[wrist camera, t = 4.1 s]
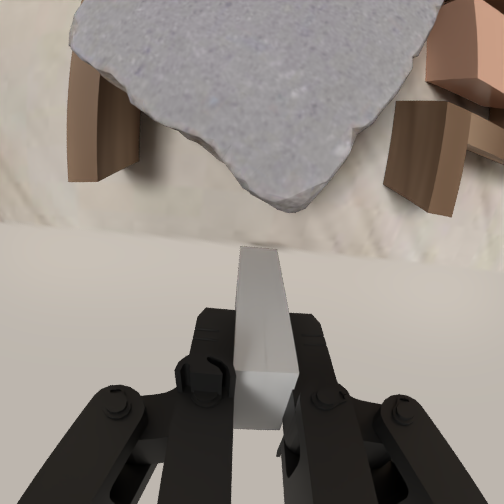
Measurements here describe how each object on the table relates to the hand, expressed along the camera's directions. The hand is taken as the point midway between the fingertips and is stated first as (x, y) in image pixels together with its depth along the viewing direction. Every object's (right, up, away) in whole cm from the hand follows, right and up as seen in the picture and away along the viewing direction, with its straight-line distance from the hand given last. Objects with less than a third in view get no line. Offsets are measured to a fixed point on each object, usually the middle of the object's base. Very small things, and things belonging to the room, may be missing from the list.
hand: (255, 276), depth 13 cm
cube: (+10, +11, -3) cm, 15 cm away
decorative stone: (+1, +11, -3) cm, 11 cm away
